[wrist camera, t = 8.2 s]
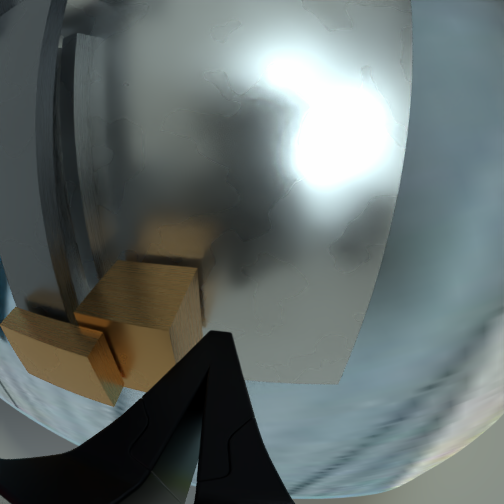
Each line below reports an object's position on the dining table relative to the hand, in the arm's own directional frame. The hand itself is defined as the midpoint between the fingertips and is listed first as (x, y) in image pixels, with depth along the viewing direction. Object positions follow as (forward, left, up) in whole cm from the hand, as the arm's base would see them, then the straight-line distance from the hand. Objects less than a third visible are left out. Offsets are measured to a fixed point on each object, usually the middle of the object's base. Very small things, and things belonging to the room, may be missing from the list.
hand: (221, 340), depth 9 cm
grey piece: (+3, -5, -5) cm, 8 cm away
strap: (+6, -6, 0) cm, 8 cm away
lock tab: (+4, 0, -2) cm, 4 cm away
